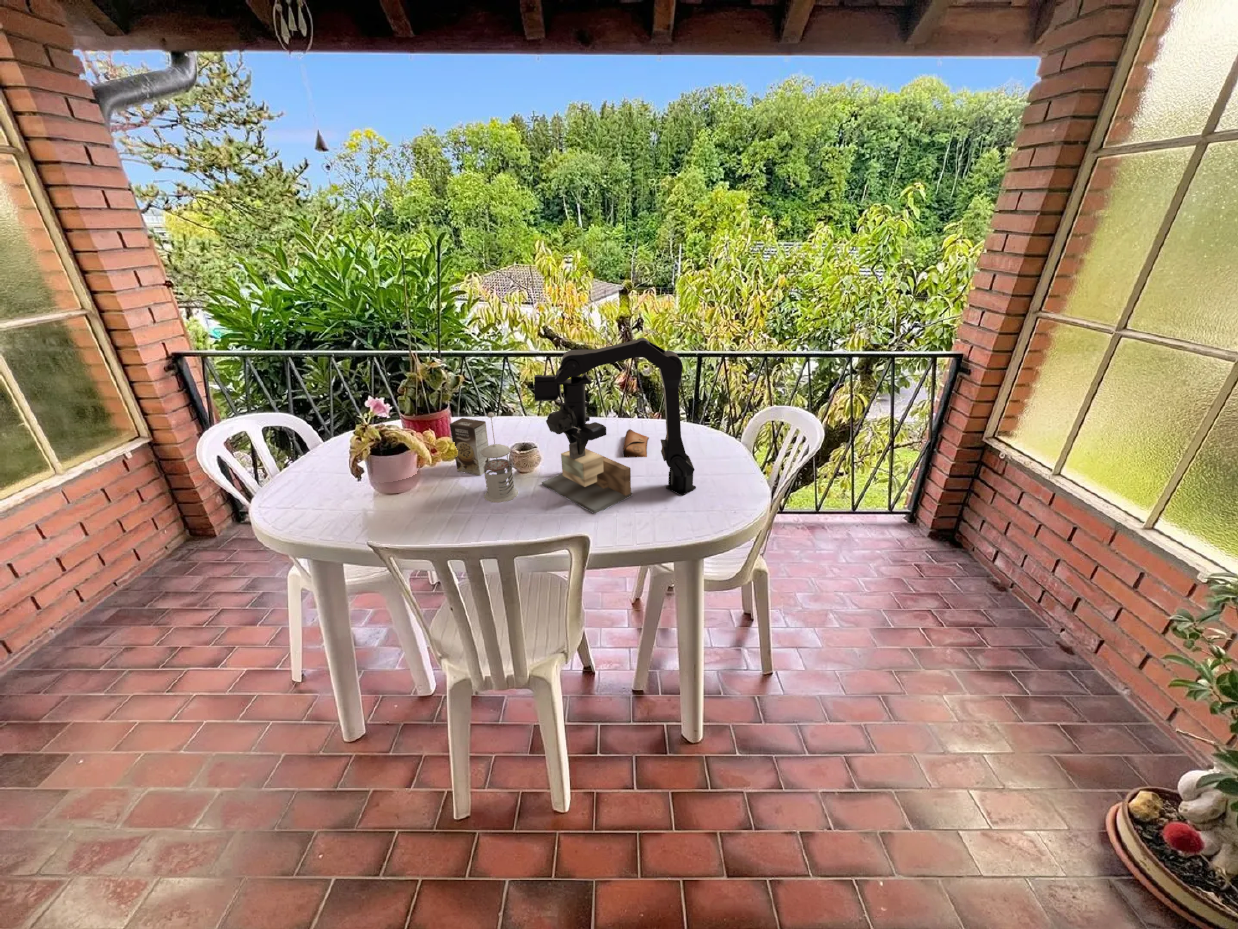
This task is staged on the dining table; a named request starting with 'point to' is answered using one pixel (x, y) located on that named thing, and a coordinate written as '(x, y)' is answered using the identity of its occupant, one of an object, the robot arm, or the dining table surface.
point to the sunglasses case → (635, 444)
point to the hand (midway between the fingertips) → (577, 453)
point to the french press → (498, 473)
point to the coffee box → (470, 445)
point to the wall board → (596, 487)
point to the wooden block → (581, 465)
